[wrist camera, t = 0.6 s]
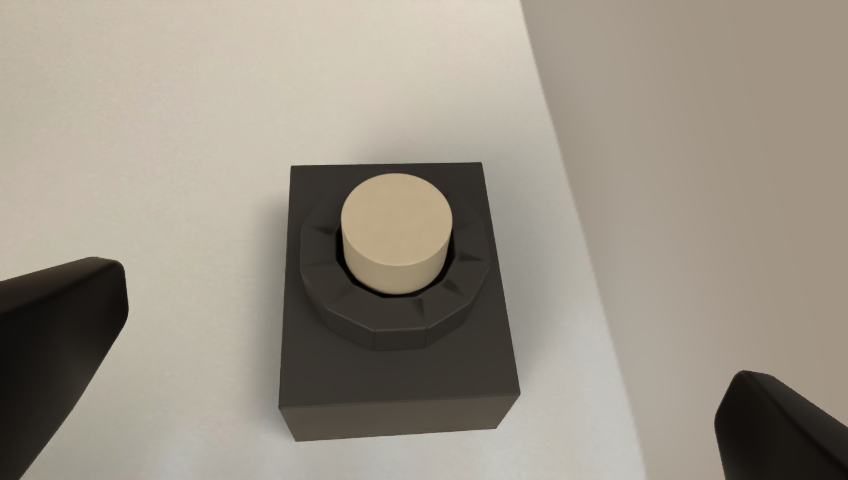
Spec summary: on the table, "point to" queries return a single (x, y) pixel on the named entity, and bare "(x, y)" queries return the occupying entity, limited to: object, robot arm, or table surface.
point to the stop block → (392, 319)
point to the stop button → (395, 233)
